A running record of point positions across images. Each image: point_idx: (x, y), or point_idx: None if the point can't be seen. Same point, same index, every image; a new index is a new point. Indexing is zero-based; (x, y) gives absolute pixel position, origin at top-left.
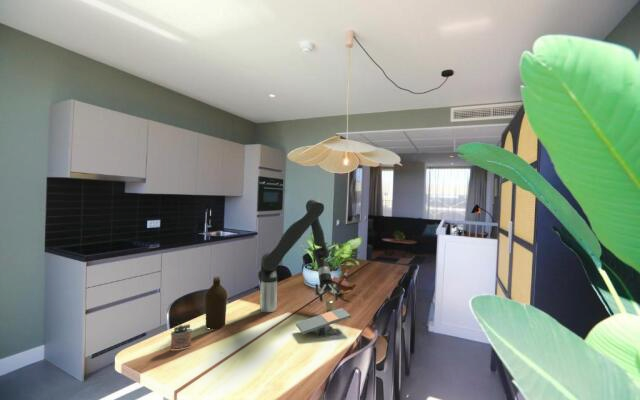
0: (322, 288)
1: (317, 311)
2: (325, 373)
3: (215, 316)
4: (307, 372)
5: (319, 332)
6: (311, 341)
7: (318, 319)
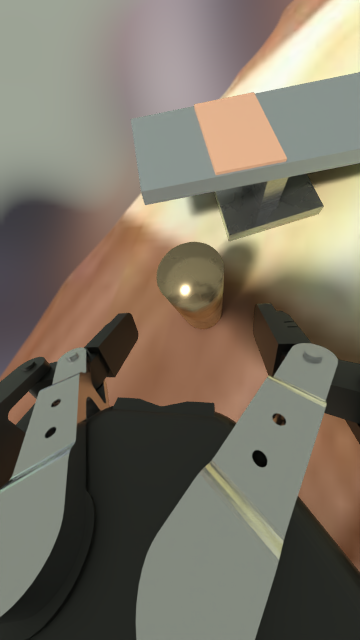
0: (297, 436)
1: None
2: (280, 21)
3: None
4: (330, 7)
5: None
6: None
7: (301, 127)
